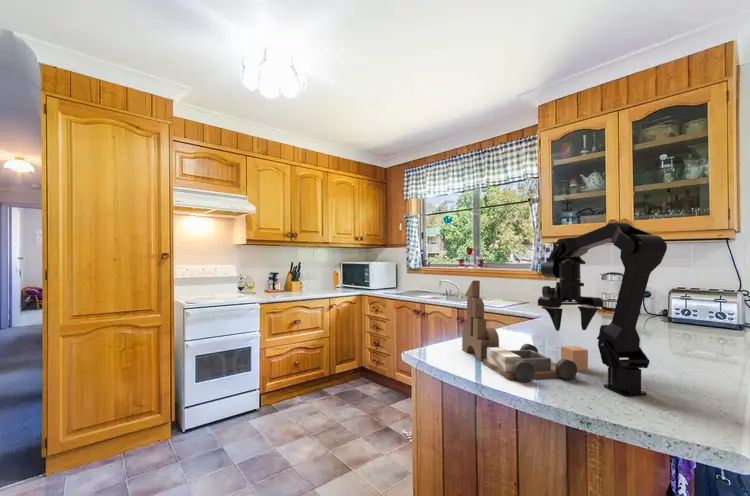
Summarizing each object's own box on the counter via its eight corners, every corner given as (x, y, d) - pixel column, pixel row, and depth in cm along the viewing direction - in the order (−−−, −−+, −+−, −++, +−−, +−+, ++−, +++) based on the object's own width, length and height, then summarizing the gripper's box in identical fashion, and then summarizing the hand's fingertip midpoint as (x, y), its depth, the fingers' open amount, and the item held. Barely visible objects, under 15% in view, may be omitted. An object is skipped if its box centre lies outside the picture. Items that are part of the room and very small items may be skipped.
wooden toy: (500, 361, 110) (501, 282, 111) (480, 361, 109) (481, 282, 110) (477, 348, 126) (478, 278, 126) (459, 348, 124) (460, 278, 125)
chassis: (580, 379, 95) (580, 359, 95) (513, 382, 91) (513, 361, 91) (536, 359, 113) (536, 342, 113) (479, 361, 109) (479, 344, 109)
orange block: (587, 370, 103) (587, 350, 103) (573, 371, 102) (573, 350, 102) (575, 365, 108) (575, 345, 108) (560, 365, 107) (561, 346, 107)
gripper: (576, 278, 117) (577, 325, 116) (526, 278, 113) (526, 326, 112) (604, 279, 106) (605, 331, 105) (549, 279, 102) (550, 332, 101)
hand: (570, 330), depth 106 cm, fingers open, 9 cm apart
